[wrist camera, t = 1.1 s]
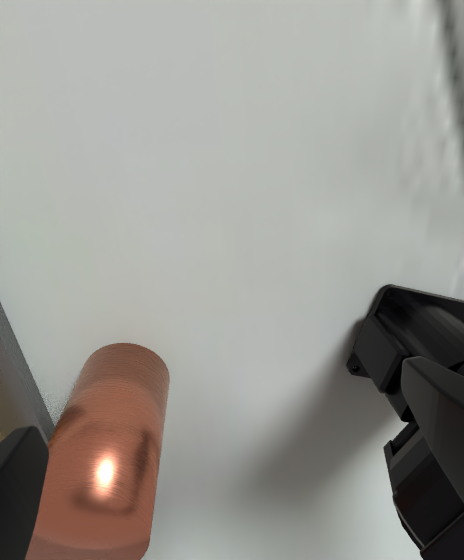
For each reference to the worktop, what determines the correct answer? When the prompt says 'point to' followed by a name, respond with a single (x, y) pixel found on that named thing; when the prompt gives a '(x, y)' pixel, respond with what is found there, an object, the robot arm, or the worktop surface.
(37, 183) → the worktop surface
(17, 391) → the gray mounting plate
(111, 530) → the copper cylinder
